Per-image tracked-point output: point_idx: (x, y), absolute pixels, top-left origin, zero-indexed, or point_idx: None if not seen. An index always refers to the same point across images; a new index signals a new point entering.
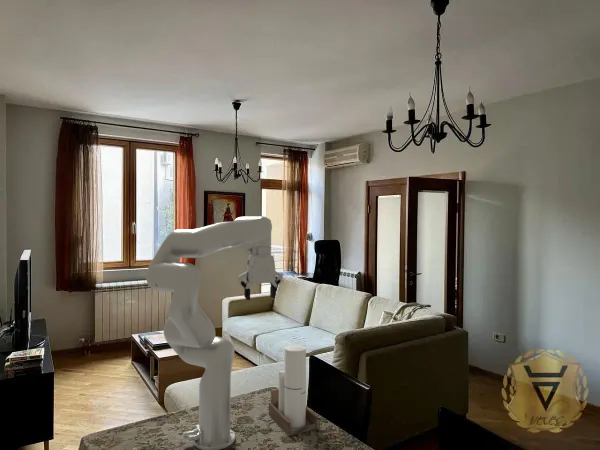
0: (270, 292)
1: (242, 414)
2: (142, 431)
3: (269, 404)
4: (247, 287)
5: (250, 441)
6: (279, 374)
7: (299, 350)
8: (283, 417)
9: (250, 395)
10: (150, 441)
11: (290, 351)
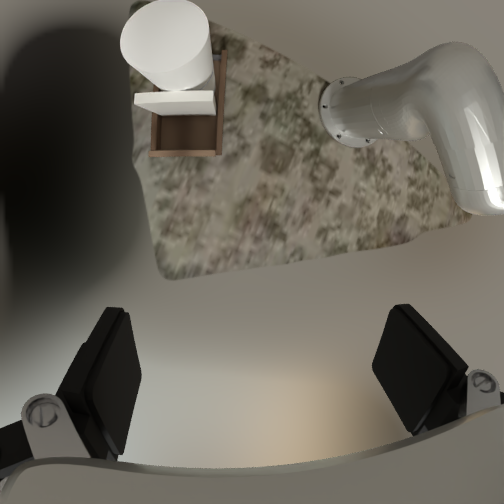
0: (132, 404)
1: (271, 181)
2: (427, 207)
3: (221, 150)
4: (480, 381)
5: (298, 74)
6: (213, 98)
7: (167, 3)
8: (224, 74)
9: (219, 263)
10: (426, 169)
11: (201, 10)
